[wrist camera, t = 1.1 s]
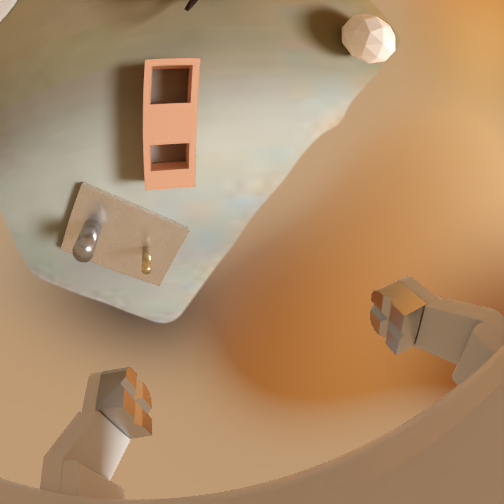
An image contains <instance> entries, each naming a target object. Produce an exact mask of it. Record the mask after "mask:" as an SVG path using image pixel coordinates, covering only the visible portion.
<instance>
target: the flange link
mask: <svg viewBox="0 0 504 504" xmlns="http://www.w3.org/2000/svg"><path fill="white" fill-rule="evenodd" d="M161 69H189V78H188V95H187V103H161V104H151V89H152V70H161ZM199 71H200V58H172V59H150V60H145V69H144V90H143V157H144V179H145V190H156V189H167V188H181V187H195V178H196V129H197V105H198V87H199ZM180 143H186V161H180V162H165V163H152V164H151V145H163V144H180Z"/></svg>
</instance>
